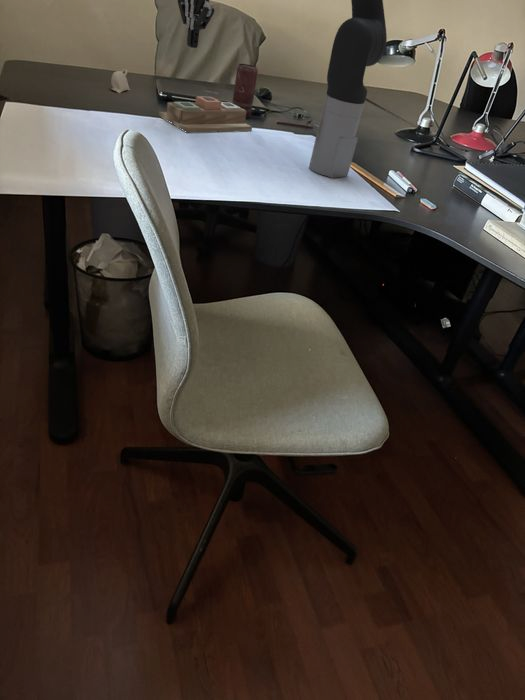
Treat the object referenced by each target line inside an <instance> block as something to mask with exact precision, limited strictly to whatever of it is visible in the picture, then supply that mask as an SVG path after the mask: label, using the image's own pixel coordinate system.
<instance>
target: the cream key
mask: <svg viewBox="0 0 525 700" xmlns="http://www.w3.org/2000/svg"><path fill="white" fill-rule="evenodd" d="M221 102H222V103H221V108H223V109H225V110H240V109H241V108H240V107H238V106H236V105H234V104H232V102H230V101H229V102H223V101H221Z"/></svg>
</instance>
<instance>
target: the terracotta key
mask: <svg viewBox="0 0 525 700" xmlns="http://www.w3.org/2000/svg"><path fill="white" fill-rule="evenodd" d="M195 102H196V104H195V105H197V106H199V107H201V108H202V109H204V110H221V103H222V102H223V101H220V100H219V99H217V98H214V97H212V96H198V95H197V96H195Z"/></svg>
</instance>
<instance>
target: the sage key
mask: <svg viewBox="0 0 525 700" xmlns="http://www.w3.org/2000/svg"><path fill="white" fill-rule="evenodd" d="M173 102H174V105H175V106H177V107H179V108H181V109H182V110H200V107H198V106H196V105H194V104H192V103H191V102H192V101H191V102H190V101H173Z"/></svg>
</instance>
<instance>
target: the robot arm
mask: <svg viewBox="0 0 525 700" xmlns="http://www.w3.org/2000/svg"><path fill="white" fill-rule="evenodd" d="M350 2H351V3H350V4H351V17H349V18H348V19H346V20H345V21H343V23H342V24H341V25H340V26H339V27H338V30H337V32H336V33H335V37H334V40H333V44H332V48H331V52H330V58H329V63H328V69H327V73H326V83H327V89H326V93H325V98H324V103H323V106H322V110H321V115H320V119H319V122H318V123H319V124H318V127H317V131H316V137H315V141H314V145H313V147H312V148H313V149H312V154H311V157H310V162H309V165H308V167H309V169H310V171H313V172H315V173H316V174H319V175H323V176H326V177H328V178H331V179H334V178H342V177H343V178H344V177H348V175H349V173H350V172H349V171H350V168H351V164H352V161H353V158H354V154H355V150H356V147H357V144H358V140H359V138H358V136H356V134H357V131H358V128H359V127H358V126H359V124H360V120H361V117H362V116H361V115H362V113H363V110H364V106H365V103H366V98H367V95H368V89H367V88H366V86H365V85H364V76H365V72H366V68H367V67H372V66H375V65H376V64H377V63H379V61H380V60H382V57H383V56H384V54H385V50H386V46H387V41H388V40H387V39H388V37H387V27H386V18H385V9H384V8H385V7H384V1H383V0H351V1H350ZM209 3H210V0H177V4H178V8H179V12H180V17H181V20H182V24H183V25H185V26H186V29H187V36H186V45H187V47H189V48H194V49H195V48H198V45H199V36H200V31H202V30H205V29H206V28H207V26H208V25H209V23H210V21H211V19H212V17H213V16H214V14H215V8H214V7H211V6H210V5H211V4H209Z"/></svg>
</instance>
